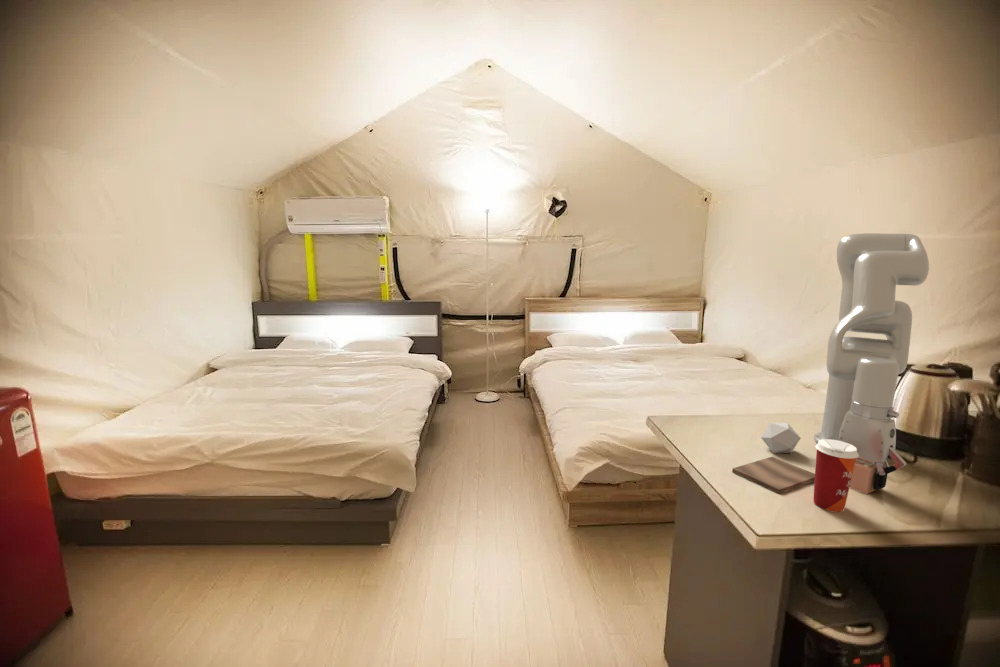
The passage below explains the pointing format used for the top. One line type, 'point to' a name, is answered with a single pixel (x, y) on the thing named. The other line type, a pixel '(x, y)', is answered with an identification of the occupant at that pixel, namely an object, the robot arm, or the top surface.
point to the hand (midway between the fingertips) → (859, 481)
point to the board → (775, 474)
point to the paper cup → (833, 473)
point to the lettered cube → (863, 475)
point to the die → (780, 437)
